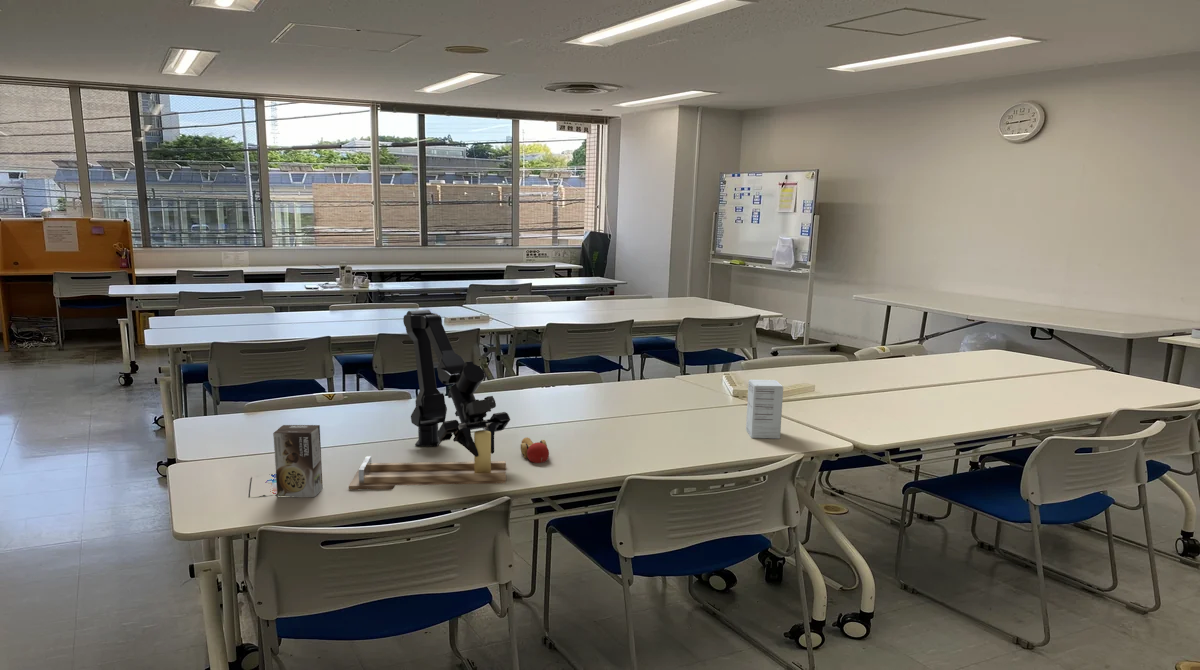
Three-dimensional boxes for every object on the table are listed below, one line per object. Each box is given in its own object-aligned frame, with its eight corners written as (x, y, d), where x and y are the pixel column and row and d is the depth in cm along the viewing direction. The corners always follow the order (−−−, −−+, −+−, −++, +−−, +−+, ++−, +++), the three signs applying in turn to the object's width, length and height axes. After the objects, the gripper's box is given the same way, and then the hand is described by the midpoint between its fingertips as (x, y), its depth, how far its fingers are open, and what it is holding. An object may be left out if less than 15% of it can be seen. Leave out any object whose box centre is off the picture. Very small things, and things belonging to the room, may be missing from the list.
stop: (371, 468, 196) (371, 455, 195) (364, 483, 186) (363, 469, 185) (366, 468, 196) (366, 455, 195) (359, 483, 186) (358, 469, 185)
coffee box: (323, 487, 185) (321, 424, 182) (314, 498, 179) (312, 432, 176) (286, 487, 185) (283, 423, 182) (275, 497, 178) (272, 431, 175)
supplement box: (780, 439, 234) (784, 386, 231) (751, 438, 234) (754, 385, 231) (773, 430, 243) (776, 379, 240) (745, 429, 243) (748, 378, 240)
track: (505, 467, 202) (505, 458, 202) (505, 486, 188) (505, 477, 188) (360, 470, 198) (359, 461, 197) (348, 489, 184) (348, 480, 184)
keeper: (475, 470, 196) (475, 430, 195) (491, 471, 197) (491, 430, 195) (473, 476, 192) (473, 434, 190) (489, 476, 192) (489, 435, 191)
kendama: (510, 453, 219) (524, 464, 202) (514, 431, 219) (528, 441, 202) (536, 455, 221) (552, 467, 204) (540, 434, 221) (555, 444, 204)
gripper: (441, 391, 188) (461, 445, 181) (507, 382, 199) (528, 432, 192) (428, 414, 196) (447, 466, 189) (492, 404, 207) (512, 454, 200)
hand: (485, 454), depth 192 cm, fingers closed on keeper, 4 cm apart
